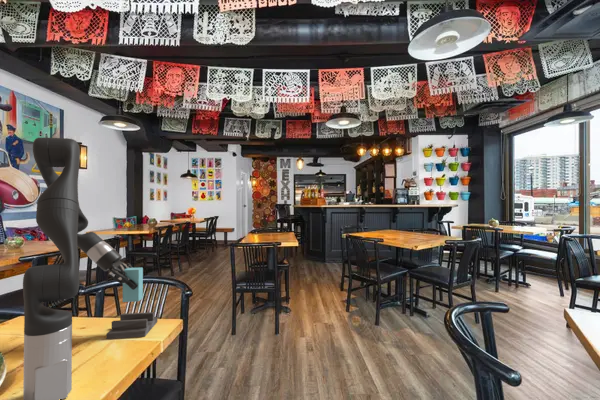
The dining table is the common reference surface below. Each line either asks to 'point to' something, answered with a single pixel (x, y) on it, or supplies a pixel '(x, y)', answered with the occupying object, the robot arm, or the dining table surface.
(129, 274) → the teal book
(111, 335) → the book stand
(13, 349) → the dining table surface
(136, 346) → the dining table surface
